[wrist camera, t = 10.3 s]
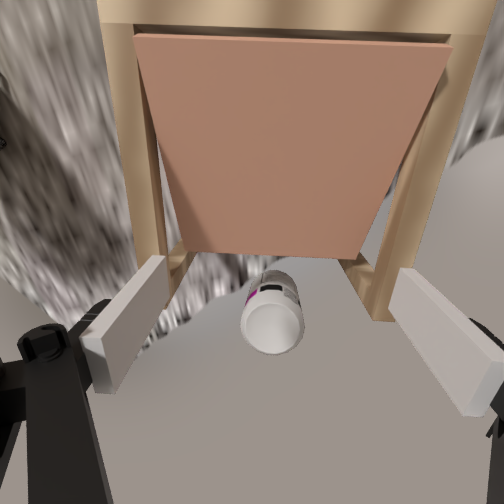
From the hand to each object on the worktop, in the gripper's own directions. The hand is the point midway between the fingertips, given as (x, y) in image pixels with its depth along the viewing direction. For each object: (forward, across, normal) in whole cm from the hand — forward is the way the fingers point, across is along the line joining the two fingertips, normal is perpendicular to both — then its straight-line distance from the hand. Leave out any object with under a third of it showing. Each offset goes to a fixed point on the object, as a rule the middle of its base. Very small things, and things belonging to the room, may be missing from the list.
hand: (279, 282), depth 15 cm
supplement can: (+13, -1, +15) cm, 20 cm away
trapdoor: (+11, 0, -5) cm, 12 cm away
